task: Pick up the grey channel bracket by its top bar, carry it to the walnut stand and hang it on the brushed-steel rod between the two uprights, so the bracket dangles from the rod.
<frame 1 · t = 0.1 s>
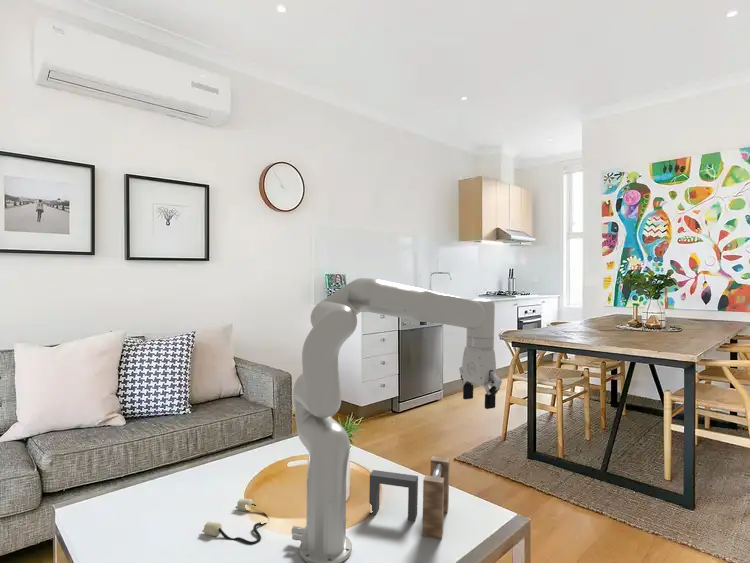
hand: (478, 403, 131), 31 cm above the table, tool pointing down, fingers open, 9 cm apart
cable: (244, 526, 124), on the table
hook stand: (436, 521, 127), on the table
grey channel bracket: (393, 514, 130), on the table
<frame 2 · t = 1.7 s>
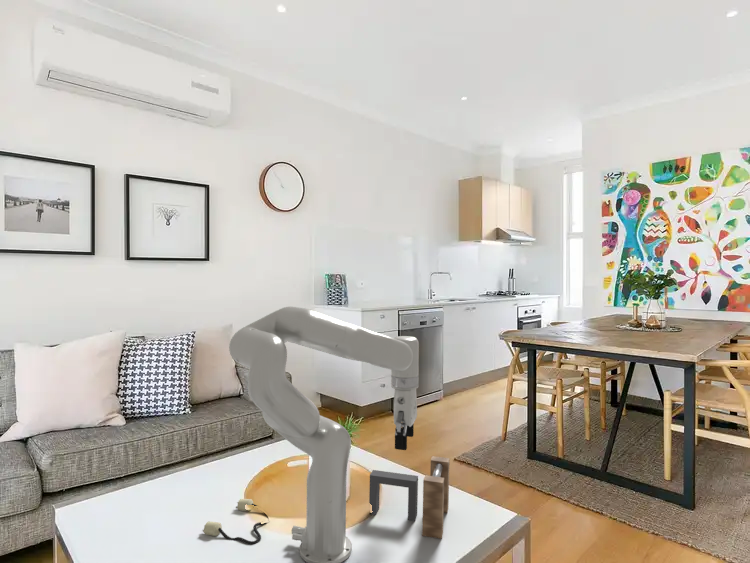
hand: (404, 442, 129), 20 cm above the table, tool pointing down, fingers open, 9 cm apart
nothing on the table moved.
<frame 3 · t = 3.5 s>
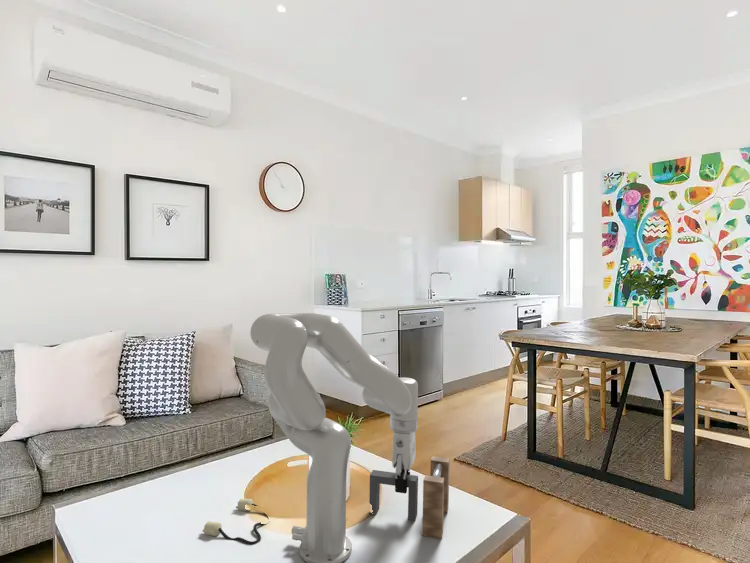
hand: (402, 488, 129), 8 cm above the table, tool pointing down, fingers closed on grey channel bracket, 3 cm apart
grey channel bracket: (393, 514, 130), on the table, touching gripper
everything else where it was.
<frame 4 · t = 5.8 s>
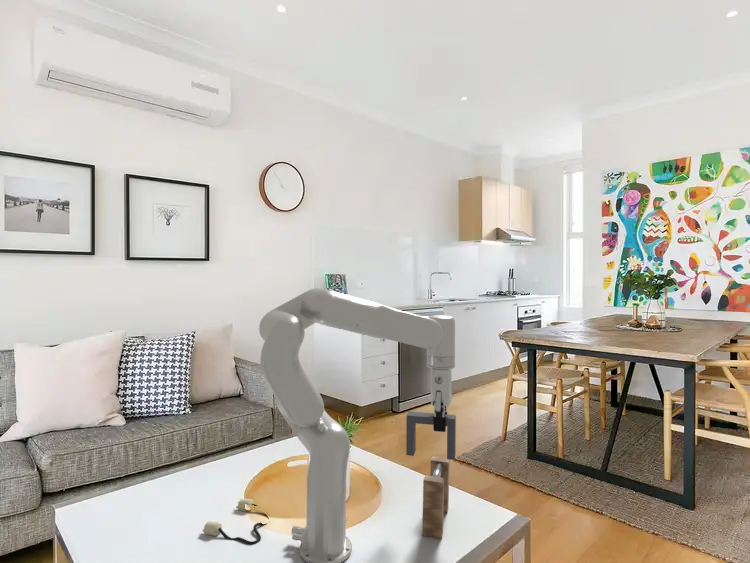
hand: (440, 427, 126), 26 cm above the table, tool pointing down, fingers closed on grey channel bracket, 3 cm apart
grey channel bracket: (430, 454, 127), point 18 cm above the table, touching gripper
everything else where it was.
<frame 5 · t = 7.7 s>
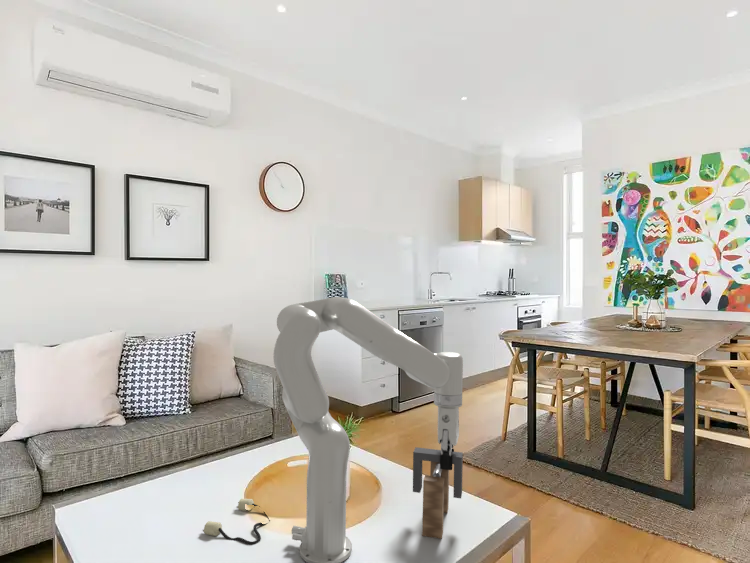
hand: (447, 465, 126), 16 cm above the table, tool pointing down, fingers closed on grey channel bracket, 3 cm apart
grey channel bracket: (437, 492, 127), point 8 cm above the table, touching gripper
everything else where it was.
when the fingers open (14 cm above the table, at t = 8.3 s): grey channel bracket drops 1 cm, resting on hook stand.
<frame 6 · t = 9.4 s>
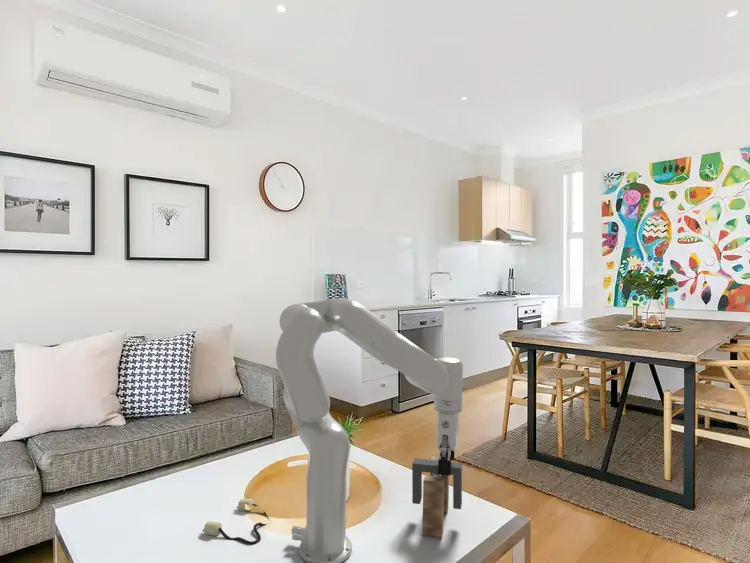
hand: (446, 466, 126), 15 cm above the table, tool pointing down, fingers open, 9 cm apart
grey channel bracket: (437, 503, 127), point 5 cm above the table, touching hook stand
everything else where it was.
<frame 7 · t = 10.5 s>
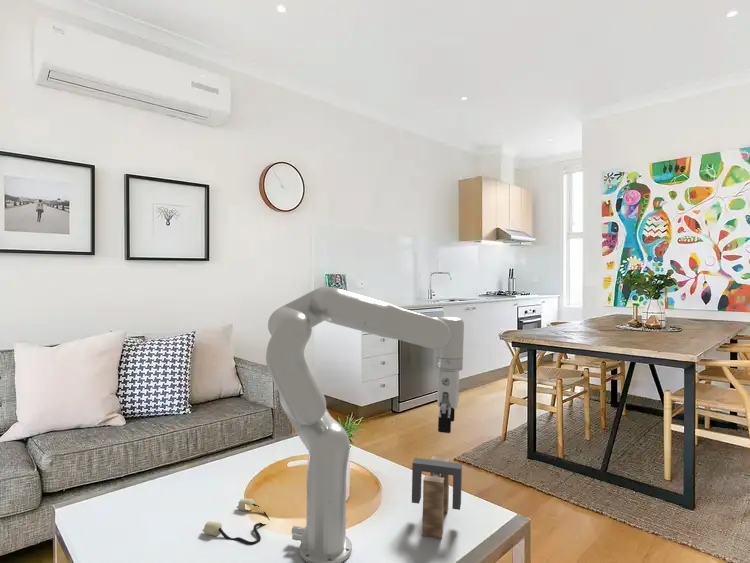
hand: (446, 426, 126), 26 cm above the table, tool pointing down, fingers open, 9 cm apart
nothing on the table moved.
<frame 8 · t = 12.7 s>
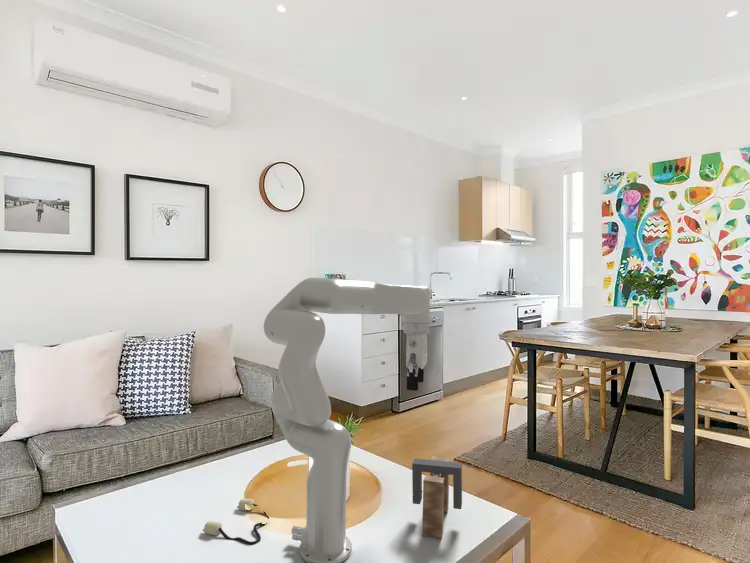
hand: (415, 385, 137), 34 cm above the table, tool pointing down, fingers open, 9 cm apart
nothing on the table moved.
at the end: grey channel bracket 0.3 cm off-centre on the hook stand, point 5.0 cm above the hook stand's base; grey channel bracket touching hook stand; grey channel bracket tilted 2° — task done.
